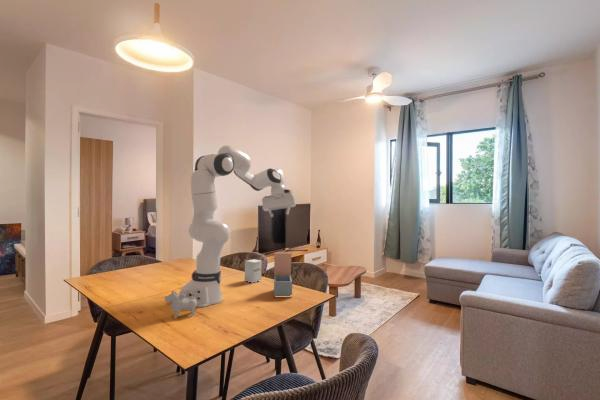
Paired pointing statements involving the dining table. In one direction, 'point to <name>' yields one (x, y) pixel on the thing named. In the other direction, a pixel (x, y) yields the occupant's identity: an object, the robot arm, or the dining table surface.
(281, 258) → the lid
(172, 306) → the grey dog figurine
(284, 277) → the box
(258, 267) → the white cylinder
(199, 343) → the dining table surface
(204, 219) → the robot arm
